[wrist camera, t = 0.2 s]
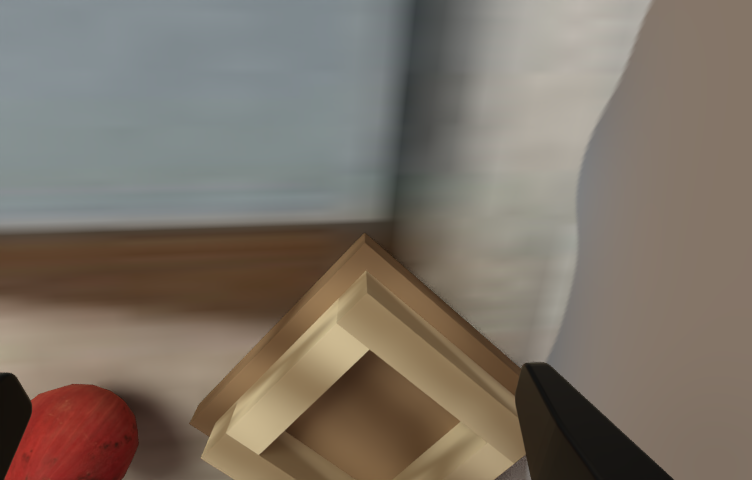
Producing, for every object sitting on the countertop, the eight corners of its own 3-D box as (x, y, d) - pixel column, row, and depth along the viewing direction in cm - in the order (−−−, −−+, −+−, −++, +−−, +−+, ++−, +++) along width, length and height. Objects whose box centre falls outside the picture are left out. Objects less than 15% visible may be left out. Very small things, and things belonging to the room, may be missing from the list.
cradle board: (377, 523, 30) (380, 588, 26) (198, 404, 26) (171, 459, 22) (541, 386, 27) (572, 438, 23) (364, 232, 23) (365, 262, 19)
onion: (175, 378, 26) (100, 501, 18) (142, 452, 27) (60, 594, 20) (71, 338, 25) (-56, 451, 17) (43, 417, 26) (-85, 553, 19)
